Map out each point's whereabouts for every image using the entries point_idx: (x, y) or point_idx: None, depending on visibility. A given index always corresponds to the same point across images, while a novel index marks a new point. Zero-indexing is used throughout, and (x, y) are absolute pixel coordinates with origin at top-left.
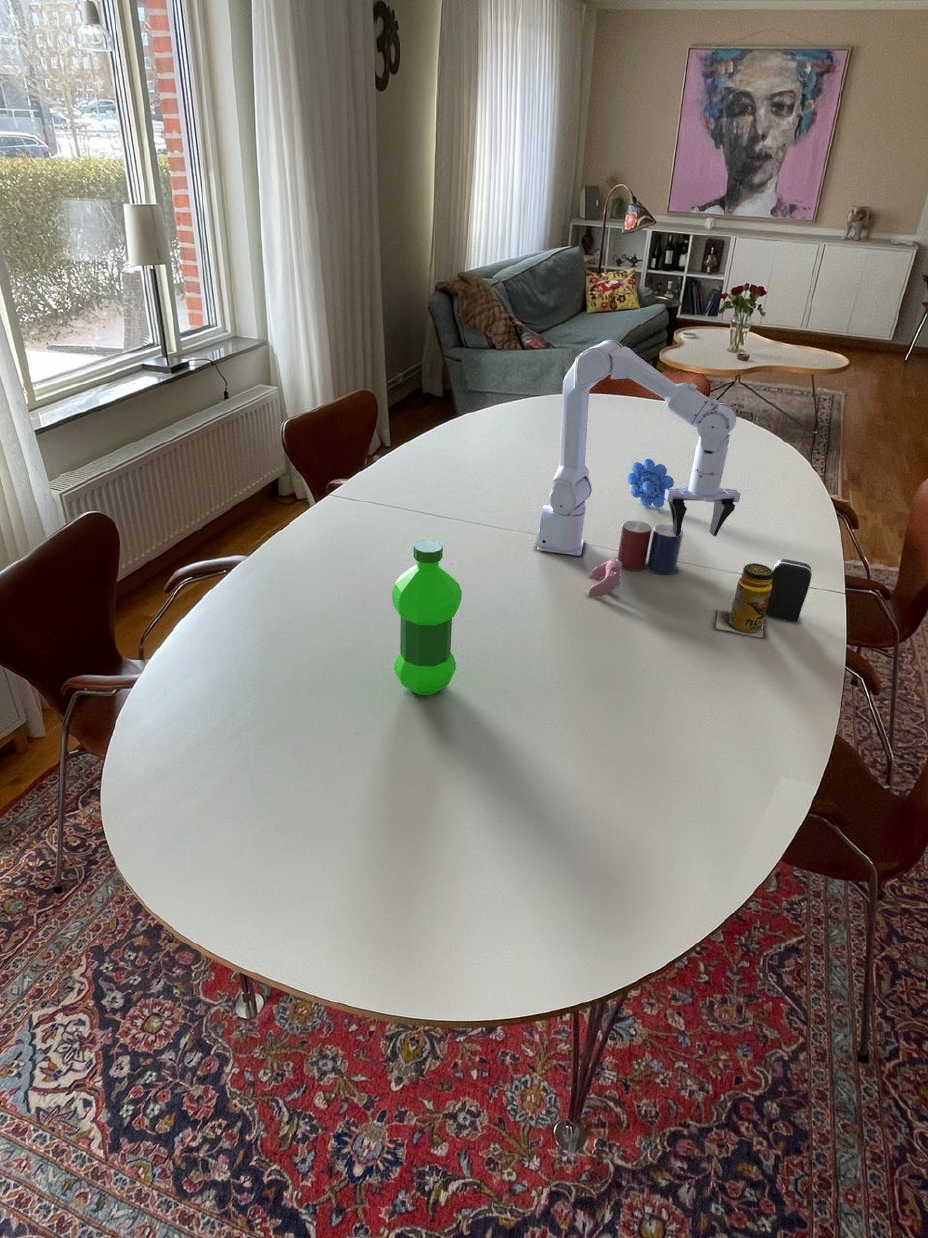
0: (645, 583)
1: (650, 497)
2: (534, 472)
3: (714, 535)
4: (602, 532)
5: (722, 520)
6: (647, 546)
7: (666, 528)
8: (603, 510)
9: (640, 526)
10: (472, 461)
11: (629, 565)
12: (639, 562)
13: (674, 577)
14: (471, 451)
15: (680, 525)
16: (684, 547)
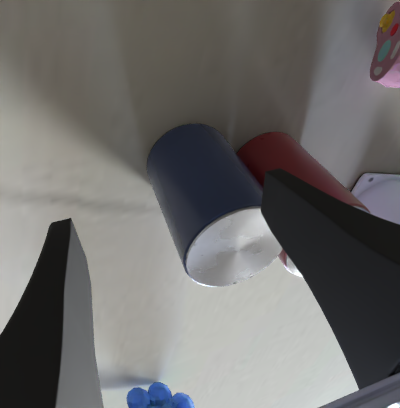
0: (268, 48)
1: (157, 402)
2: (291, 384)
3: (63, 222)
4: (268, 279)
5: (32, 311)
6: None
7: (240, 260)
8: (236, 343)
9: None
10: (350, 372)
11: (289, 138)
12: (269, 147)
13: (161, 108)
14: (339, 388)
15: (315, 199)
16: (100, 281)
